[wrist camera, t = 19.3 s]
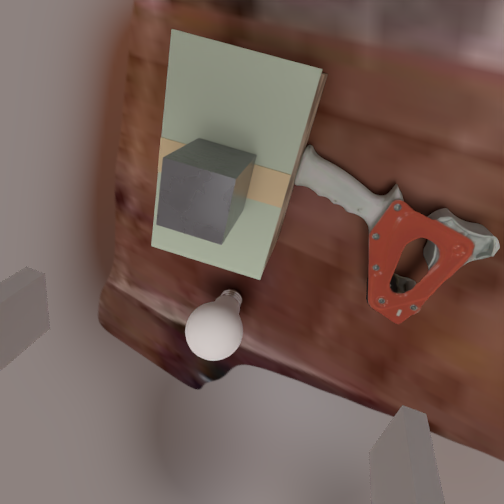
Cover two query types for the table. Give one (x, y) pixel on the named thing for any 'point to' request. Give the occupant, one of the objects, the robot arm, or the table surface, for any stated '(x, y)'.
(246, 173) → the block
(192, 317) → the light bulb
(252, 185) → the lid
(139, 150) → the table surface
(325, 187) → the tape dispenser
